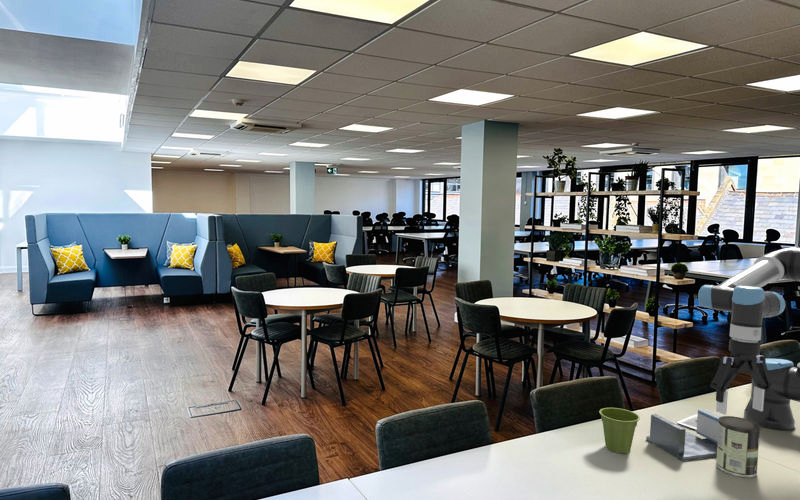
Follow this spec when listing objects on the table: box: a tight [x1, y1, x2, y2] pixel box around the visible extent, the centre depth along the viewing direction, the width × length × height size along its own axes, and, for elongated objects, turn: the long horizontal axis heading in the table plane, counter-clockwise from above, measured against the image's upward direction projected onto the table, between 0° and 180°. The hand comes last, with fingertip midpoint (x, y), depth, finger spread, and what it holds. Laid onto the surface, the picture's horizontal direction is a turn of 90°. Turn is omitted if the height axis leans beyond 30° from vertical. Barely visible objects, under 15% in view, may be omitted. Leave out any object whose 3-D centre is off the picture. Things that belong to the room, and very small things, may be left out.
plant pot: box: [598, 407, 641, 454], centre depth 161 cm, size 12×12×11 cm
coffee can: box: [715, 415, 762, 478], centre depth 149 cm, size 10×10×14 cm
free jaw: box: [696, 409, 720, 444], centre depth 167 cm, size 9×11×8 cm
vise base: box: [645, 413, 717, 462], centre depth 164 cm, size 27×15×9 cm, turn 105°
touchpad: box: [675, 413, 698, 431], centre depth 183 cm, size 8×15×2 cm, turn 124°
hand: (739, 411), depth 149 cm, fingers open, 13 cm apart
